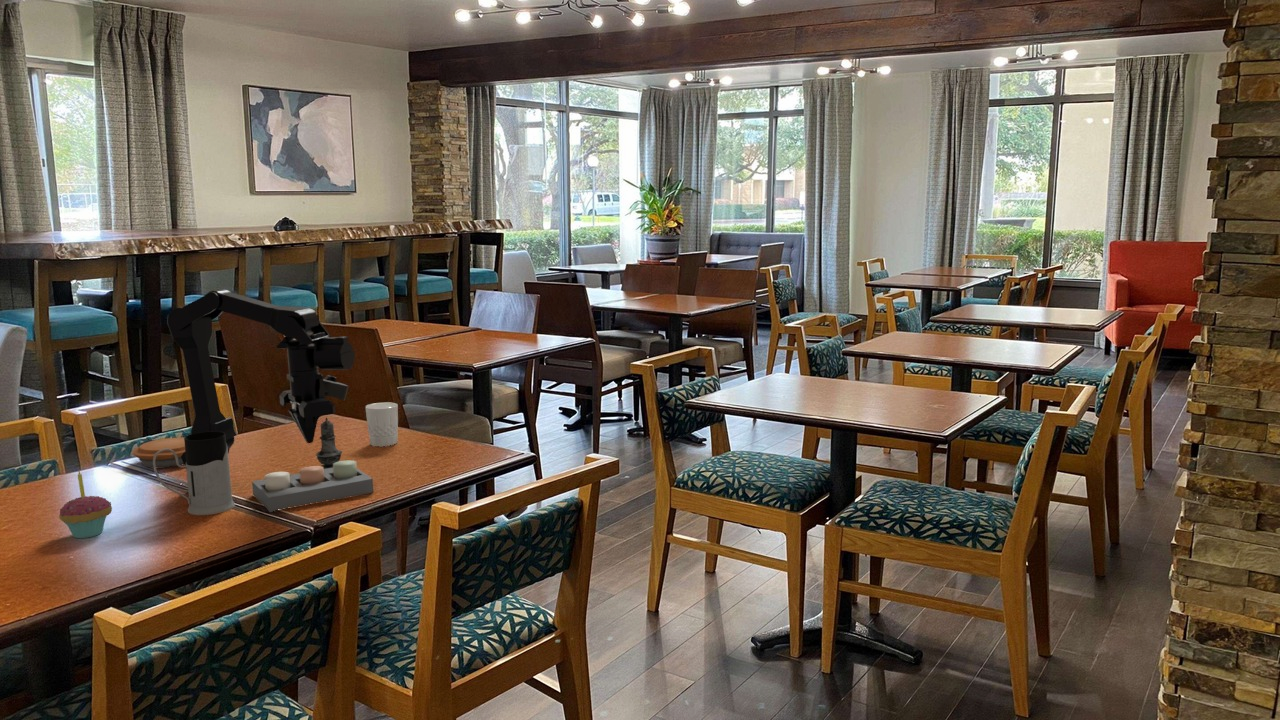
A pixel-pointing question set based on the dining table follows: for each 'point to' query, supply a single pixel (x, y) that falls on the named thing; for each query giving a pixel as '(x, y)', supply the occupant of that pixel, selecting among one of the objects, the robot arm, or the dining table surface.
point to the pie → (164, 457)
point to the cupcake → (85, 514)
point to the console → (312, 490)
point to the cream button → (277, 481)
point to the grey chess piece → (328, 446)
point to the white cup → (382, 423)
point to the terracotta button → (311, 475)
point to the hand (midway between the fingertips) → (309, 442)
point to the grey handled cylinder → (205, 473)
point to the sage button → (344, 469)
